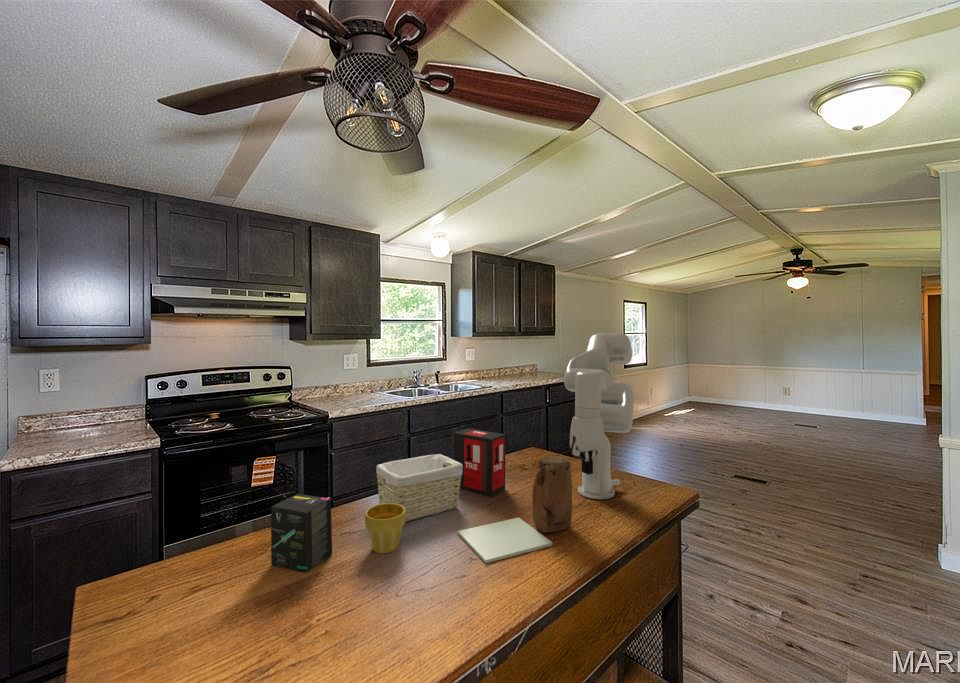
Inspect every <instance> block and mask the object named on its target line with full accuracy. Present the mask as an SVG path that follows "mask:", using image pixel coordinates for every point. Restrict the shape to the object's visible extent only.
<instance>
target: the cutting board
mask: <svg viewBox="0 0 960 683" xmlns="http://www.w3.org/2000/svg"><path fill="white" fill-rule="evenodd" d="M457 535H458V536H459V537H460V538H461V539H462V540H463V541H464V542H465V543H466V544H467V545H468V547H470V549H471V550H472V551H473V552H474V553H475V554H476V555H477V556H478V557H479V558H480V559H481V561H483V562H484V564H489V563H492V562H496V561H500V560H504V559H507V558H510V557H511V558H512V557H514V556H518V555H521V554H526V553H529V552H532V551H533V552H534V551H536V550H541V549H544V548H548V547H552V546H553V541H551V540H550V539H549V538H547V537H546V536H544V534H542V533H541V532H540V531H539V530H537V529H535V528H533V527H532V526H531V525H530V524H528V523H527V522H525V521H524V520H523V519H522V518H520V517H514V518H510V519H505V520H502V521H497V522H493V523H488V524H483V525H479V526H475V527H470V528H466V529H461V530H457Z"/></svg>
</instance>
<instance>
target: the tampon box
mask: <svg viewBox="0 0 960 683" xmlns="http://www.w3.org/2000/svg"><path fill="white" fill-rule="evenodd" d="M332 530H333V529H332V499H331V498H329V497H322V496H313V495H308V494H301V493H297V494H295V495H293V496H290V497H289V498H286V499H284V500H282V501H280V502H279V503H276V504H274V505H272V506H271V507H270V539H271V540H270V546H271V548H270V550H271V551H270V553H271V556H270V557H271V560H270V562H271V564H270V565H271V566H272V567H276V568H281V569H287V570H289V571H290V570H291V571H295V572H301V573H304V574H307V573H309V572H310V571H311V570H313V569H314V568H315V567H317V566H319V565H320V564H321V563H322V562H323V561H325V560H326V559H327V558H329V557H330V556H331V555H332V554H333V540H332V539H333V537H332V536H333V534H332V533H333V532H332Z"/></svg>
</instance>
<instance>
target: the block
mask: <svg viewBox="0 0 960 683" xmlns="http://www.w3.org/2000/svg"><path fill="white" fill-rule="evenodd" d="M538 462H539V463H538V470H537V471H536V474H535V477H534V480H533V485H532V519H533V523H534V525H535V528H536V529H535V530H536V531H538V532H540V533H550V532H553V533H554V532H555V533H557V532H561V531H564V530H566V529H568V528H570V526H571V524H572V517H573V481H572V479H573V476H572V472H571V467H572V466H571V462H570V461H569V460H567V459H565V458H564V457H562V456H558V455H553V456H545V457H541V458H539V461H538Z"/></svg>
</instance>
